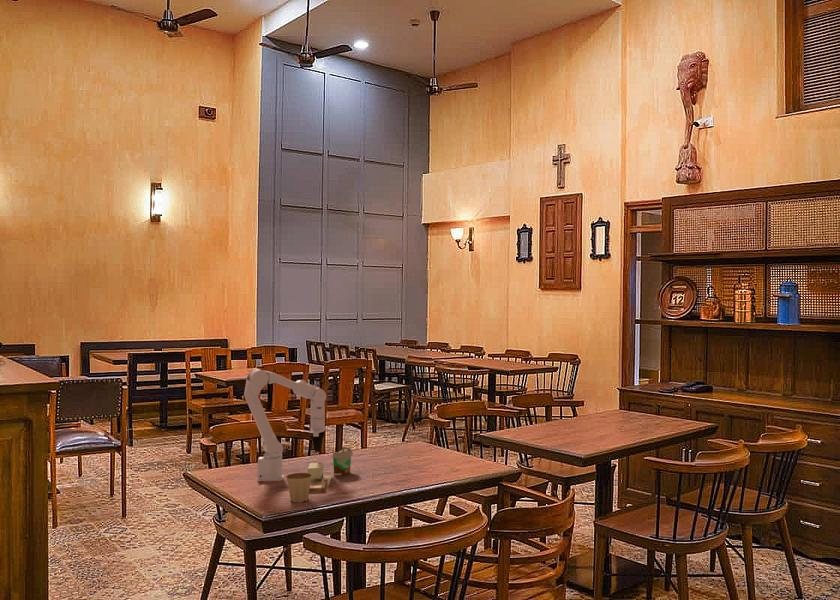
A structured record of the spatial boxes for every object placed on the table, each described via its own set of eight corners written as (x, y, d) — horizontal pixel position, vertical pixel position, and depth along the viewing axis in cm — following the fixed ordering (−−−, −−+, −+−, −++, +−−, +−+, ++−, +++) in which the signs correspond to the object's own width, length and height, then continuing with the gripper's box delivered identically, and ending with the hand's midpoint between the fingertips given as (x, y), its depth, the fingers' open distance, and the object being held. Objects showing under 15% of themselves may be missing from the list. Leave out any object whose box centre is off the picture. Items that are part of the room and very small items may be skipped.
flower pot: (289, 505, 241) (288, 480, 241) (283, 498, 249) (282, 474, 249) (315, 502, 245) (315, 477, 245) (308, 495, 253) (308, 471, 253)
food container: (347, 479, 276) (347, 453, 276) (332, 478, 277) (332, 453, 277) (356, 471, 288) (356, 447, 288) (342, 470, 289) (342, 446, 289)
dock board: (293, 494, 255) (293, 488, 255) (301, 477, 278) (301, 473, 278) (326, 493, 255) (326, 488, 255) (331, 477, 278) (331, 472, 278)
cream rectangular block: (307, 482, 270) (307, 468, 270) (310, 476, 279) (310, 462, 279) (321, 482, 270) (321, 468, 270) (323, 475, 280) (323, 462, 280)
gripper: (326, 420, 277) (326, 454, 277) (329, 414, 291) (329, 447, 291) (308, 420, 276) (308, 455, 276) (311, 414, 291) (312, 447, 291)
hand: (317, 451), depth 284 cm, fingers closed
